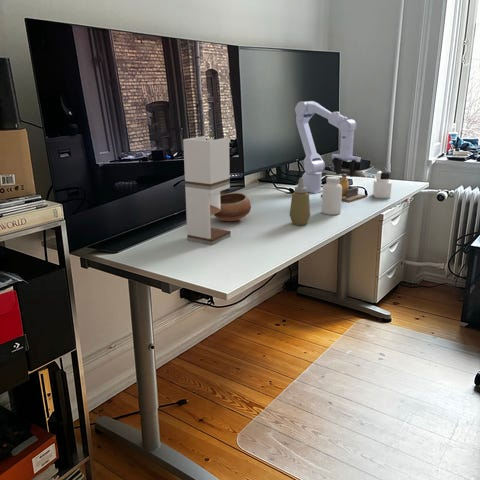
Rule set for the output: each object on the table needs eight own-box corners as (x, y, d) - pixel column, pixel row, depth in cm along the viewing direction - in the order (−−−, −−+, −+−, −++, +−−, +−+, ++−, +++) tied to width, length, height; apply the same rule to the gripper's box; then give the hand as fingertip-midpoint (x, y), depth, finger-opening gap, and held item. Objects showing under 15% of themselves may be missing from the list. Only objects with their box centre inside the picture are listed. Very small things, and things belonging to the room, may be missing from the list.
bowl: (203, 221, 195) (203, 196, 191) (228, 212, 206) (227, 189, 203) (234, 227, 185) (234, 202, 182) (258, 218, 197) (258, 194, 194)
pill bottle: (342, 211, 207) (344, 176, 202) (337, 216, 200) (340, 180, 195) (324, 209, 210) (326, 175, 206) (319, 214, 203) (320, 178, 199)
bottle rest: (321, 196, 233) (321, 187, 232) (338, 192, 243) (338, 183, 241) (349, 202, 222) (350, 192, 221) (366, 197, 232) (366, 187, 230)
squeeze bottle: (311, 221, 192) (313, 176, 187) (307, 227, 185) (309, 180, 180) (291, 220, 195) (293, 175, 189) (287, 225, 188) (288, 179, 182)
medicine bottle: (387, 194, 237) (389, 170, 233) (390, 198, 230) (392, 172, 226) (372, 194, 237) (374, 170, 234) (375, 197, 231) (377, 172, 227)
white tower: (212, 245, 166) (209, 141, 155) (187, 240, 171) (183, 139, 160) (230, 236, 175) (229, 137, 164) (206, 231, 180) (203, 136, 170)
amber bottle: (336, 194, 232) (337, 174, 229) (342, 193, 235) (343, 173, 232) (343, 196, 229) (345, 175, 226) (349, 195, 232) (351, 174, 229)
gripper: (328, 145, 228) (327, 174, 232) (355, 148, 218) (353, 178, 222) (337, 144, 232) (335, 172, 236) (363, 147, 222) (361, 176, 226)
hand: (344, 175), depth 229 cm, fingers open, 7 cm apart
